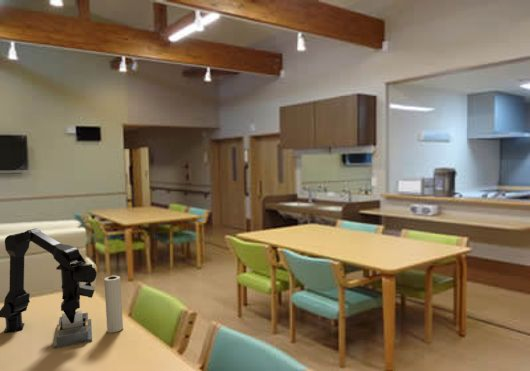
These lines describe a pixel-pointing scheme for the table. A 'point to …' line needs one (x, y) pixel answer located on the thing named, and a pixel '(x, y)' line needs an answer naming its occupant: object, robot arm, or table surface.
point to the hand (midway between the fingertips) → (72, 320)
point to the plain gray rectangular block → (77, 321)
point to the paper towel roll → (113, 303)
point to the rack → (73, 333)
